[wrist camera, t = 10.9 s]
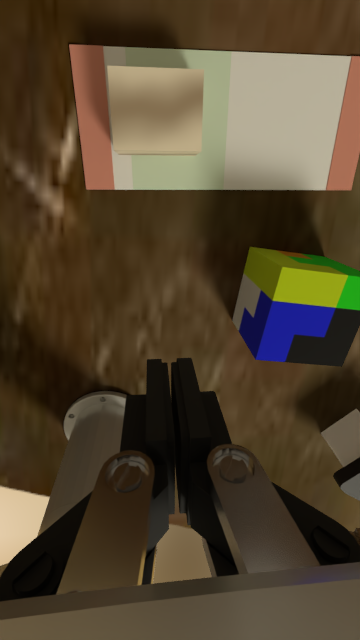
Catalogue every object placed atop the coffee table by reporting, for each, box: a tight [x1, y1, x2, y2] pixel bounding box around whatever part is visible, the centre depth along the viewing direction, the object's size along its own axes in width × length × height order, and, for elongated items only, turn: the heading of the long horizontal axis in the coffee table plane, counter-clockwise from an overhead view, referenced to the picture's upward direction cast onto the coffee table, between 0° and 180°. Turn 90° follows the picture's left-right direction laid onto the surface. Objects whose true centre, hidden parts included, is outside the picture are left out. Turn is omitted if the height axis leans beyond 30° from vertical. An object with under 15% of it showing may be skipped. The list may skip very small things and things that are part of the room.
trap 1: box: [326, 56, 360, 190], centre depth 31 cm, size 12×3×1 cm, turn 0°
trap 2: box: [69, 44, 115, 190], centre depth 29 cm, size 12×3×1 cm, turn 0°
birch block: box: [107, 66, 204, 156], centre depth 28 cm, size 6×8×4 cm
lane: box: [103, 46, 352, 190], centre depth 30 cm, size 12×24×1 cm, turn 90°
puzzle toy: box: [232, 247, 360, 367], centre depth 34 cm, size 10×10×10 cm
